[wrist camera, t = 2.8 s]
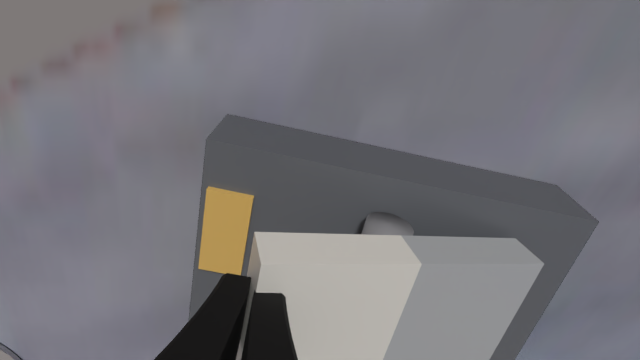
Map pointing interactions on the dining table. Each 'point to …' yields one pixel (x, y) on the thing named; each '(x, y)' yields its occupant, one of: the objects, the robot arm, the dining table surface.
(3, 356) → the wineglass
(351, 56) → the dining table surface
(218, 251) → the switch unit
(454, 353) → the rocker
